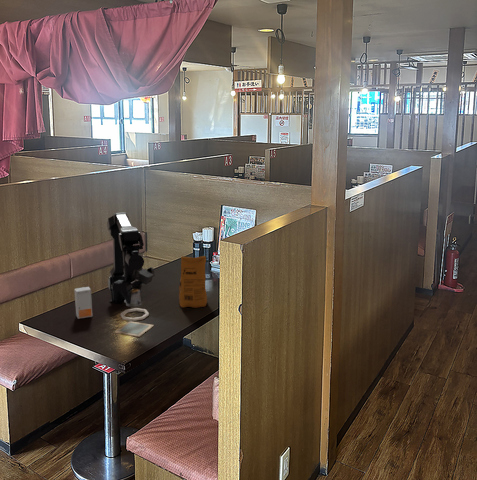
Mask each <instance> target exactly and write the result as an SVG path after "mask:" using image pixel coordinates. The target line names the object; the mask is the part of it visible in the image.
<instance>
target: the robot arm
mask: <svg viewBox="0 0 477 480" xmlns="http://www.w3.org/2000/svg"><path fill="white" fill-rule="evenodd" d="M106 223H107V224H106V225H107V230H108V231H109V234H110V237H112V246H113V247H112V253H113V254H112V256H113V257H112V258H113V267H112V269H111V270H110V272H109V277H108V281H107V287H108V289H109V291H110V295H111V299H110V300H109V303H115V304H121V305H122V304H124V301H125V300H126V302H127V303H128V304H130V302H131V291H132V290H133V289H134V288H138V289H140V291H141V290H142V287H143V285H148V284H149V283H152V281H153V278H154V277H155V268H154V267H153V266H151V267H148V268H143V267H144V265H145V259H144V257H143V256H142V255H141V254H140V250H143V249H144V247H143V246H144V245H145V243H144V241H143V235H142V234H141V232H140V231H139V230H138V228H137V227H136V226H132V225H131V222H130V219H129V216H128V213H127V212H123V211H122V212H115V213H113V215H112V216H110V217H108V218H107V222H106Z"/></svg>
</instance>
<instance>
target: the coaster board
mask: <svg viewBox="0 0 477 480" xmlns="http://www.w3.org/2000/svg"><path fill="white" fill-rule="evenodd" d="M154 325H155V324H149V323H143V322H139V321H129V320H128V322H126V323H125V324H123V325H122V326H121V327H119V328H118V329H116V330H115V331H113V333H114V334H119V335H124V336H129V337H136V338H141V337H142V336H143V335H145V334H146V333H147V332H148V331H149V330H151V329H152V328H153V327H154ZM145 332H146V333H145Z"/></svg>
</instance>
